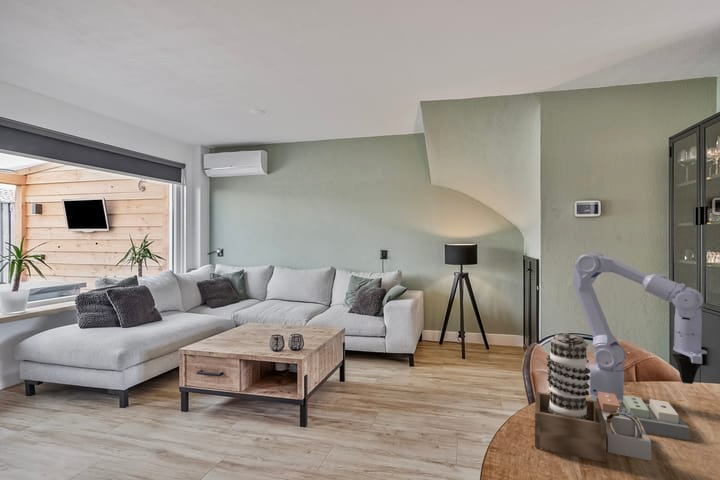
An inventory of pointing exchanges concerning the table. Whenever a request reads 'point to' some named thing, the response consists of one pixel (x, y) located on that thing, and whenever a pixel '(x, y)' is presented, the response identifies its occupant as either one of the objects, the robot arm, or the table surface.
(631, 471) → the table surface
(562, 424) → the box
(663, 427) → the button board
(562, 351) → the decorative candle
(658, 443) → the table surface
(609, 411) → the tile two terracotta
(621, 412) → the ring
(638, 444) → the bracelet dish
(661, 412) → the tile one cream
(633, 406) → the tile three sage
